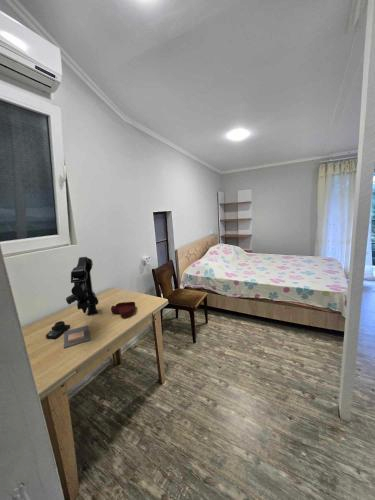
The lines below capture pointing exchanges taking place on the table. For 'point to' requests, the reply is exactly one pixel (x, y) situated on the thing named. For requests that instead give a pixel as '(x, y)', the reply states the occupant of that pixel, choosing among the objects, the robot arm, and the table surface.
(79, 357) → the table surface
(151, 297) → the table surface
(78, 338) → the tile
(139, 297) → the table surface
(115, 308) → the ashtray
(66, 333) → the mat
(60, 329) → the film camera
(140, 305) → the table surface
